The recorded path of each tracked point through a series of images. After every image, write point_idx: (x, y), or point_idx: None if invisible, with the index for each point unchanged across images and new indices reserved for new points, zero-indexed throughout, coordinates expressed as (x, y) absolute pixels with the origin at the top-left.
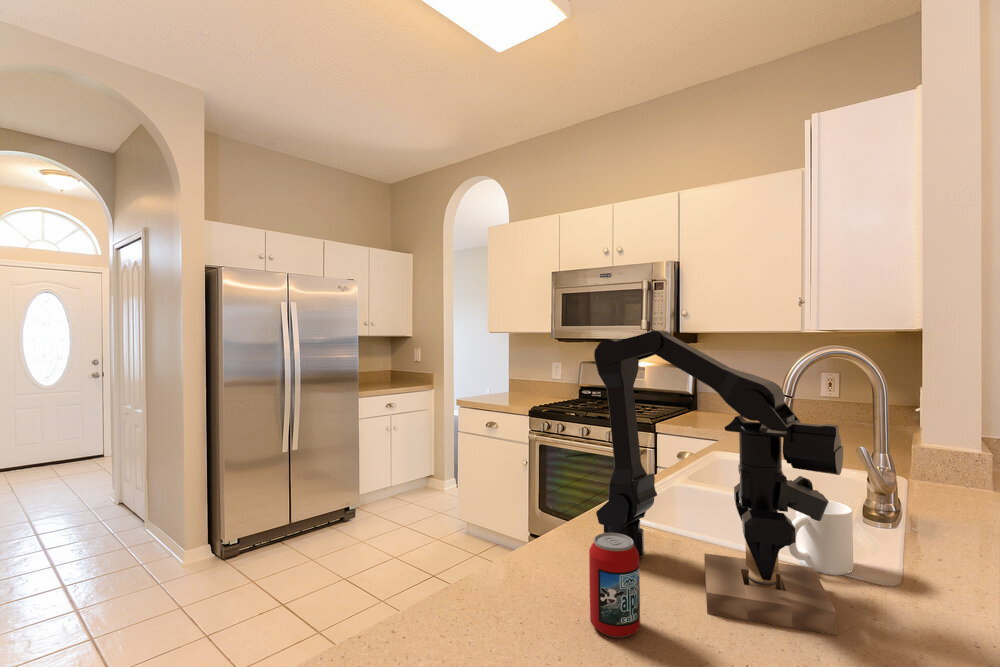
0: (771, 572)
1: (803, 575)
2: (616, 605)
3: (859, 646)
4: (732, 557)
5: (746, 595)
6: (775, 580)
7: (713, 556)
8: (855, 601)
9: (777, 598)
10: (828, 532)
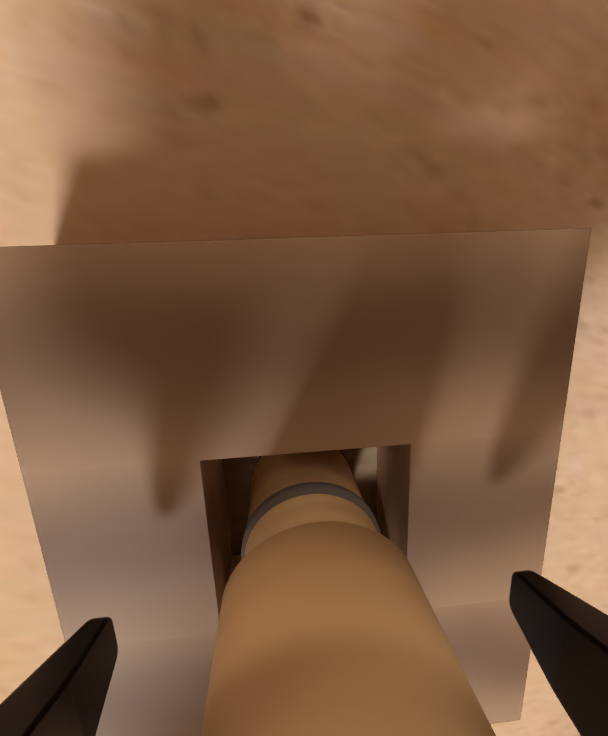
0: (603, 617)
1: (154, 332)
2: None
3: (567, 171)
4: None
5: (508, 598)
6: (334, 494)
7: None
8: (133, 61)
9: (503, 485)
10: None
